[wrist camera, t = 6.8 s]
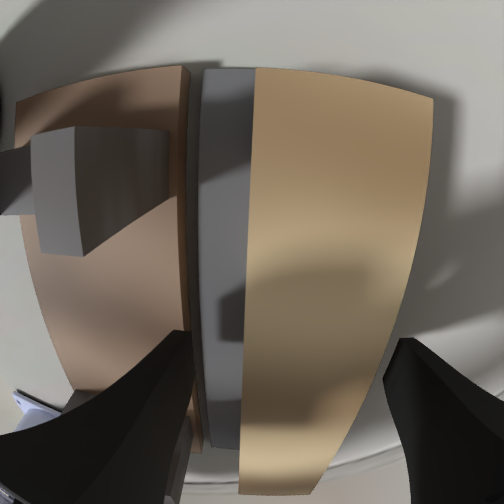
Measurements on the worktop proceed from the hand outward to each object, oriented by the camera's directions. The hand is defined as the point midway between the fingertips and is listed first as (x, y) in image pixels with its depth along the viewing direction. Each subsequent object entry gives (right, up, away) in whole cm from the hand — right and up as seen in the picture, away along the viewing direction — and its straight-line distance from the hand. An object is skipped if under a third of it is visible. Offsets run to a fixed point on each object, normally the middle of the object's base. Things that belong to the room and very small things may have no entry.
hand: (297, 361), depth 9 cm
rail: (0, +1, +1) cm, 1 cm away
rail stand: (-7, +1, +2) cm, 8 cm away
